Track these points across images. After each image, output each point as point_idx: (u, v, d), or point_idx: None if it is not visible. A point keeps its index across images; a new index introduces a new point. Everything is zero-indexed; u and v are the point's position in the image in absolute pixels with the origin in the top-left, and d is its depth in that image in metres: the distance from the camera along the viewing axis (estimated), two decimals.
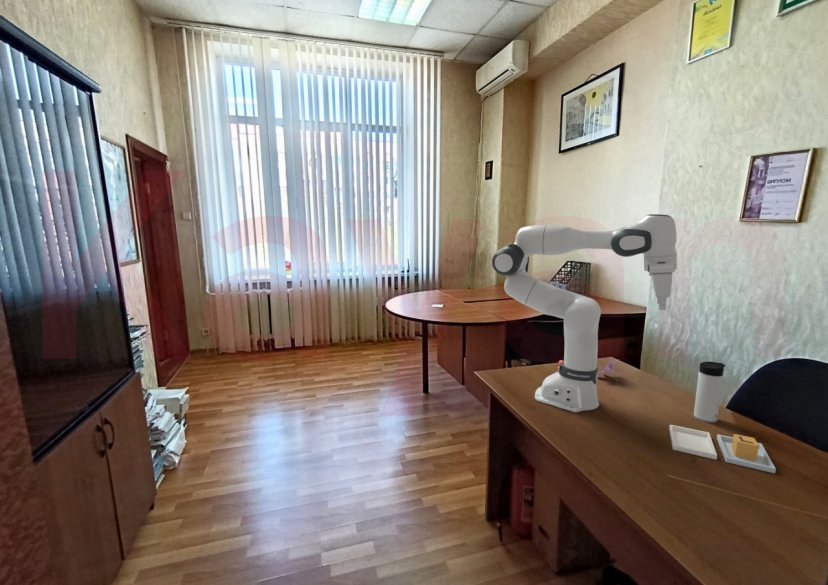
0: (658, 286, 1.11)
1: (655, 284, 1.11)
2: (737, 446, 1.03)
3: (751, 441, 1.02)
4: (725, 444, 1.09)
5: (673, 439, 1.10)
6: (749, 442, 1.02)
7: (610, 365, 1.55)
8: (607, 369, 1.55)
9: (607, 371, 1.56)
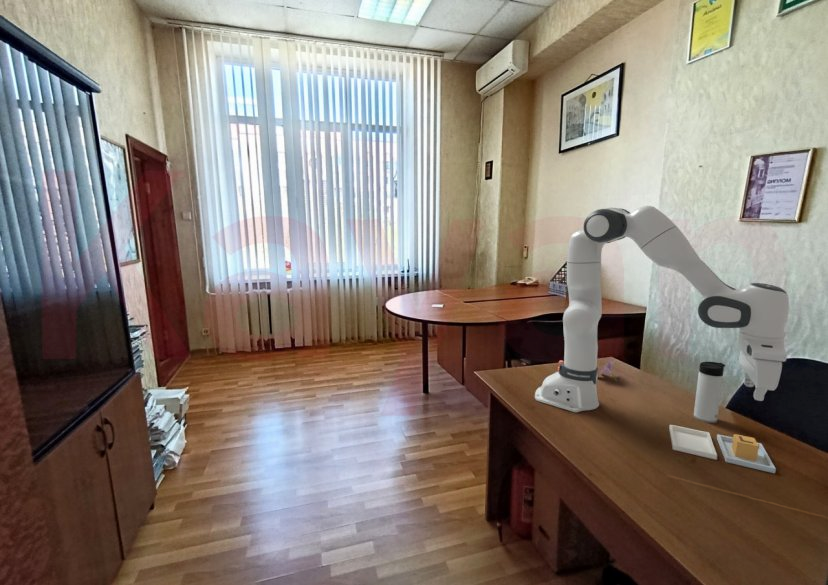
0: (762, 376, 0.91)
1: (758, 373, 0.92)
2: (737, 446, 1.03)
3: (751, 441, 1.02)
4: (725, 444, 1.09)
5: (673, 439, 1.10)
6: (749, 442, 1.02)
7: (609, 365, 1.55)
8: (606, 369, 1.55)
9: (606, 371, 1.56)
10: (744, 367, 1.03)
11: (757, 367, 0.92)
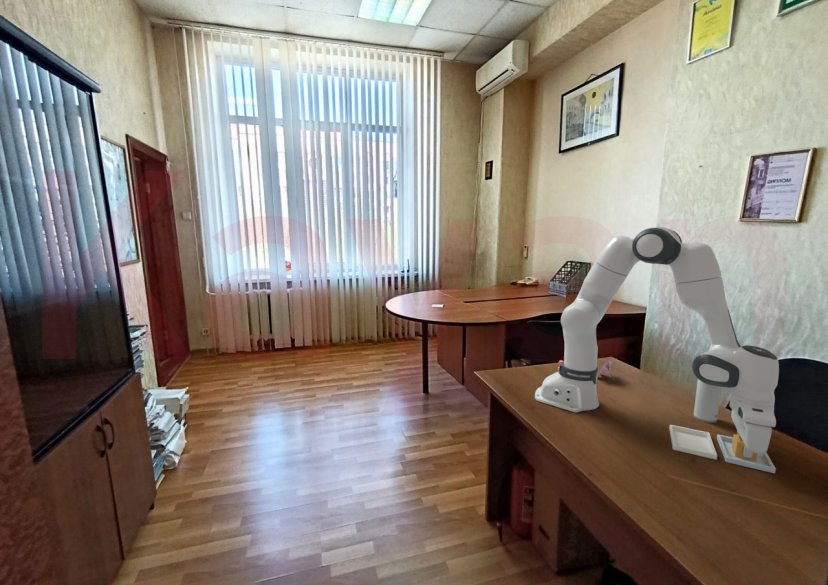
0: (752, 440, 0.94)
1: (749, 436, 0.95)
2: (737, 446, 1.03)
3: None
4: (725, 444, 1.09)
5: (673, 439, 1.10)
6: None
7: (607, 365, 1.56)
8: (604, 369, 1.55)
9: (604, 371, 1.56)
10: (736, 424, 1.06)
11: (748, 431, 0.95)
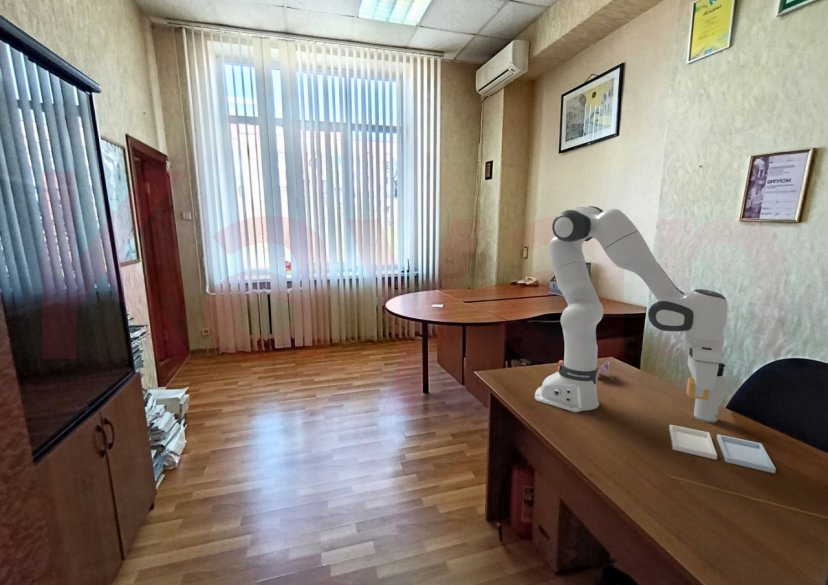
0: (701, 376, 0.98)
1: (697, 373, 0.98)
2: (690, 387, 1.06)
3: None
4: (725, 444, 1.09)
5: (673, 439, 1.10)
6: None
7: (606, 365, 1.56)
8: (603, 369, 1.56)
9: (603, 371, 1.56)
10: (690, 368, 1.10)
11: (696, 368, 0.98)
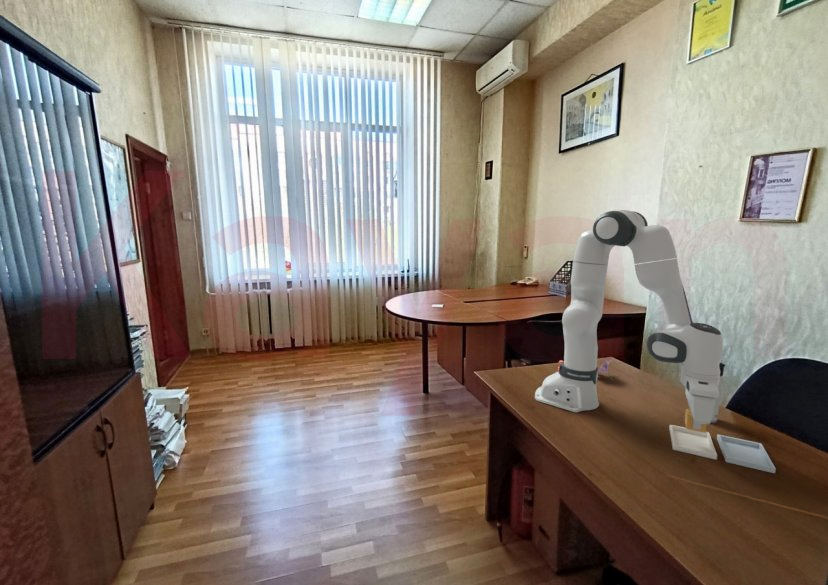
0: (698, 411, 0.99)
1: (695, 408, 1.00)
2: (688, 419, 1.08)
3: None
4: (725, 444, 1.09)
5: (673, 439, 1.10)
6: None
7: (605, 365, 1.56)
8: (602, 369, 1.56)
9: (602, 371, 1.56)
10: (688, 399, 1.11)
11: (693, 403, 1.00)
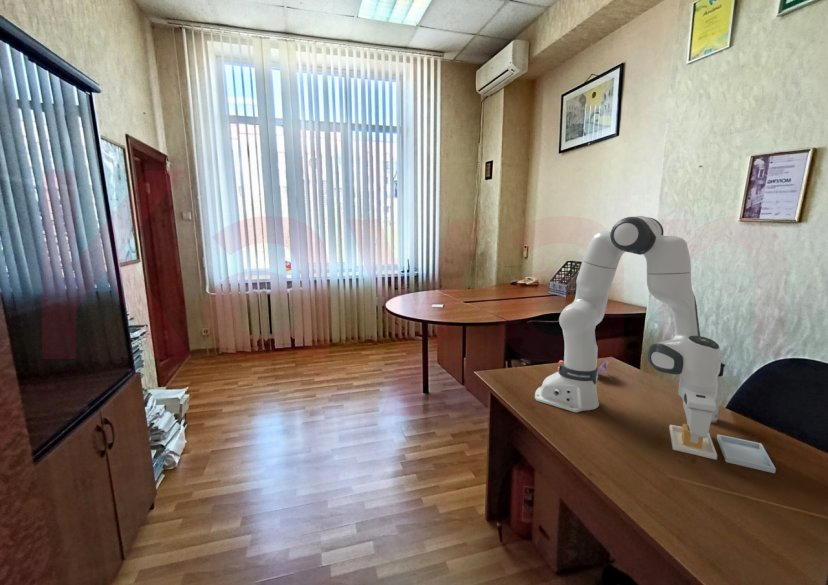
0: (695, 424, 1.00)
1: (692, 421, 1.01)
2: (684, 435, 1.09)
3: None
4: (725, 444, 1.09)
5: (673, 439, 1.10)
6: None
7: (604, 364, 1.56)
8: (601, 369, 1.56)
9: (601, 371, 1.57)
10: (685, 411, 1.12)
11: (691, 416, 1.01)
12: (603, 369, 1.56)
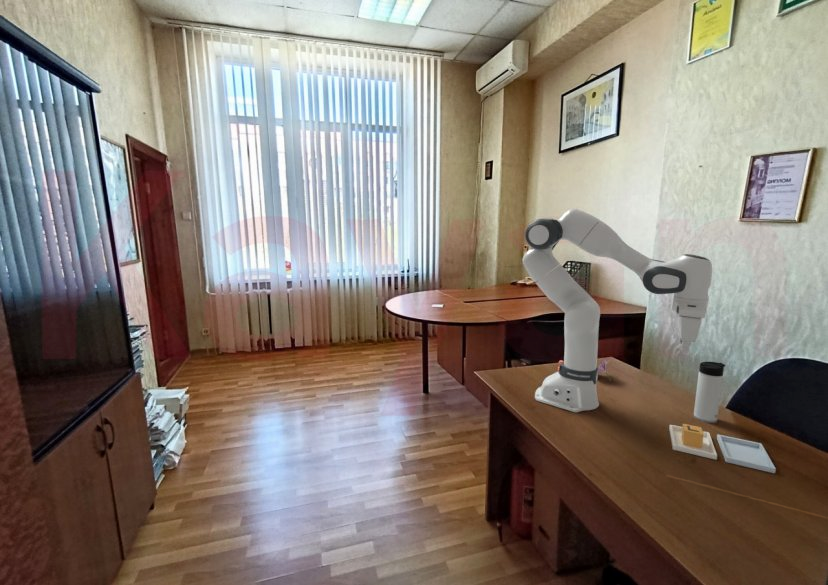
0: (685, 330, 1.09)
1: (682, 327, 1.10)
2: (684, 435, 1.09)
3: (697, 430, 1.08)
4: (725, 444, 1.09)
5: (673, 439, 1.10)
6: (695, 431, 1.08)
7: (603, 364, 1.56)
8: (600, 368, 1.56)
9: (600, 370, 1.57)
10: (678, 327, 1.21)
11: (681, 323, 1.10)
12: (602, 369, 1.56)
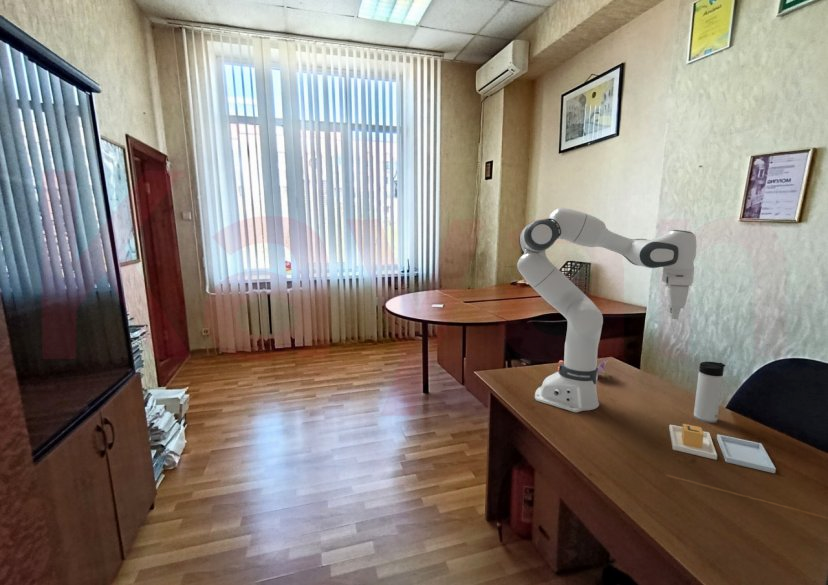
0: (674, 297, 1.21)
1: (672, 295, 1.21)
2: (684, 435, 1.09)
3: (697, 430, 1.08)
4: (725, 444, 1.09)
5: (673, 439, 1.10)
6: (695, 431, 1.08)
7: (602, 364, 1.56)
8: (599, 368, 1.56)
9: (599, 370, 1.57)
10: (668, 297, 1.32)
11: (671, 291, 1.21)
12: (601, 369, 1.56)
